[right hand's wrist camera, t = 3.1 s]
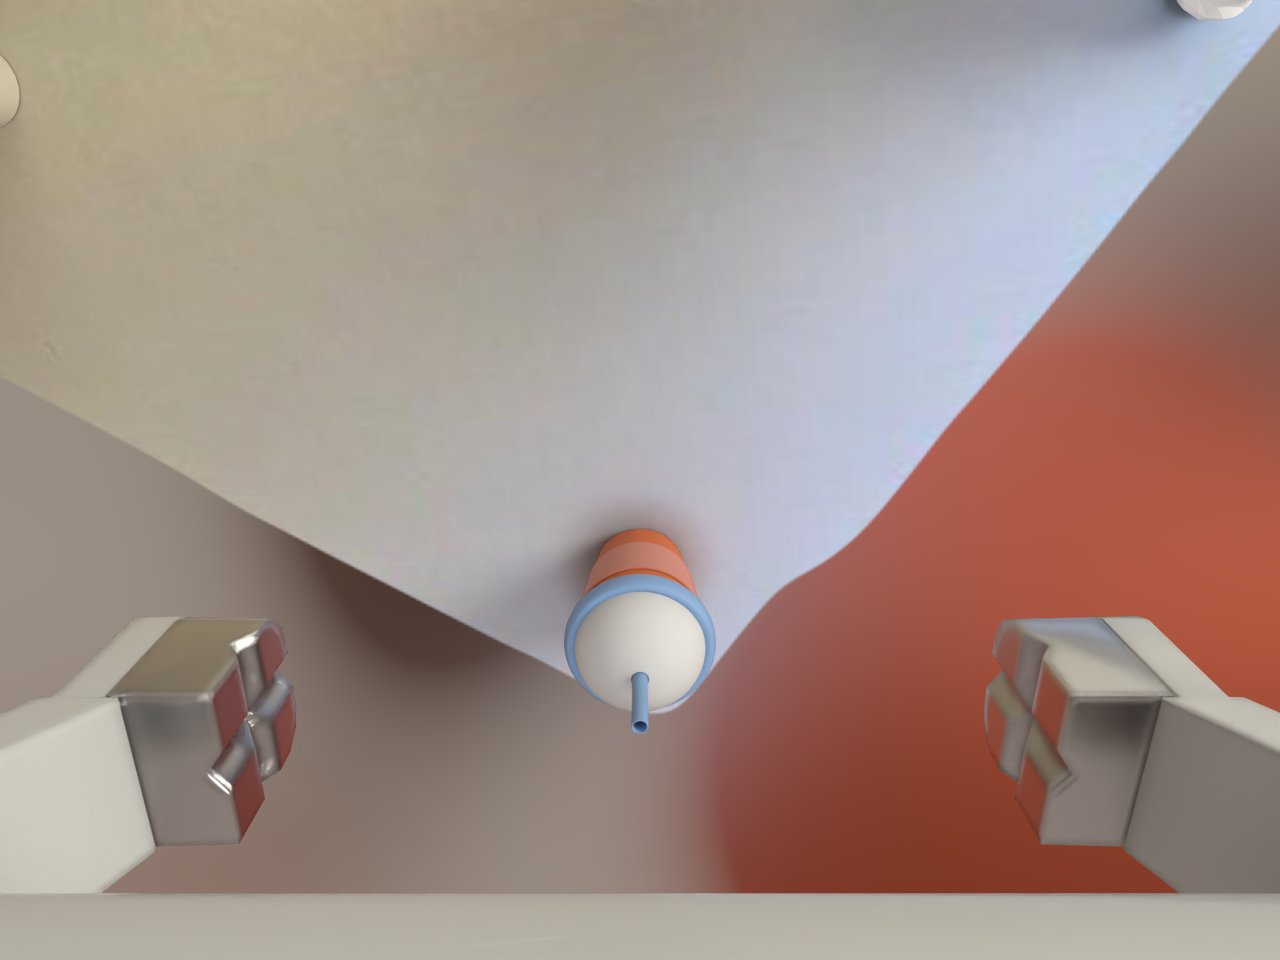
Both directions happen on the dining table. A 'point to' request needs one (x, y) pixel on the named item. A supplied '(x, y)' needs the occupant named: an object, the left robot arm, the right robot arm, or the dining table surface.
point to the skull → (1214, 8)
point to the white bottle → (8, 93)
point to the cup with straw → (640, 627)
